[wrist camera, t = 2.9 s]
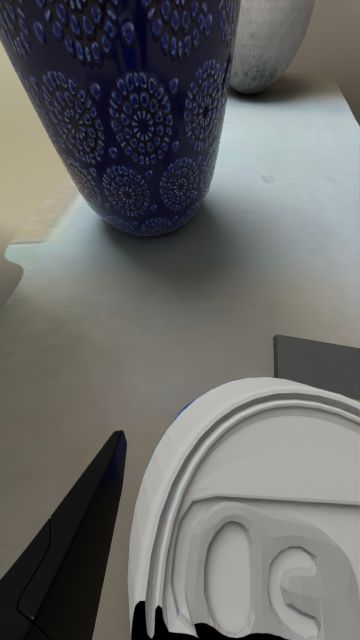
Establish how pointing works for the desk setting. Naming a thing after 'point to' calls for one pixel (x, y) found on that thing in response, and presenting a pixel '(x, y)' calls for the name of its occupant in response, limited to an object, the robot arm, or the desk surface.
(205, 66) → the planter
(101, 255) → the desk surface
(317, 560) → the beverage can
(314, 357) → the plate
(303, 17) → the moon model
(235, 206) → the desk surface
